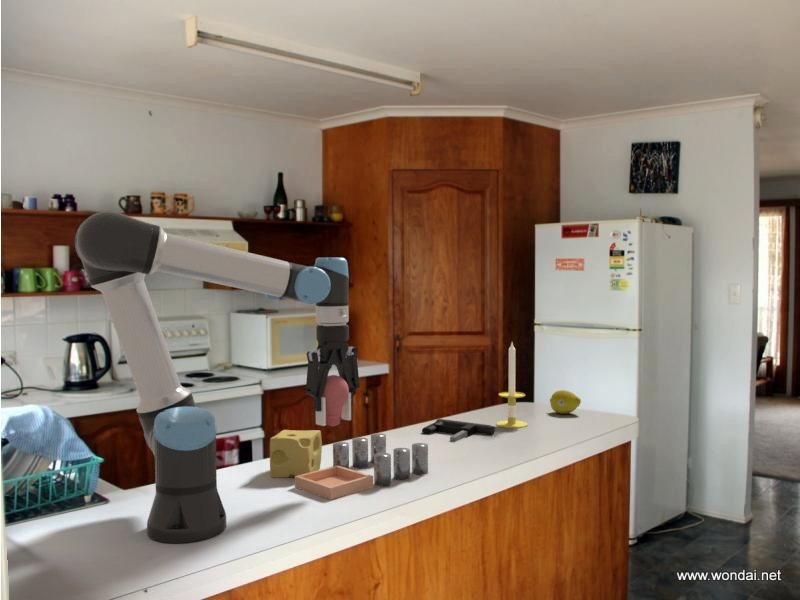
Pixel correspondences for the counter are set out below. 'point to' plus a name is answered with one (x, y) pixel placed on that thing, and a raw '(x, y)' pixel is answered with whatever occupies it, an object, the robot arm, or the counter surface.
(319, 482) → the dish
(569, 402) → the lemon
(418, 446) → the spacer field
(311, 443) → the cheese
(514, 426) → the candle
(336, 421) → the light bulb
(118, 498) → the counter surface
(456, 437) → the black submachine gun
